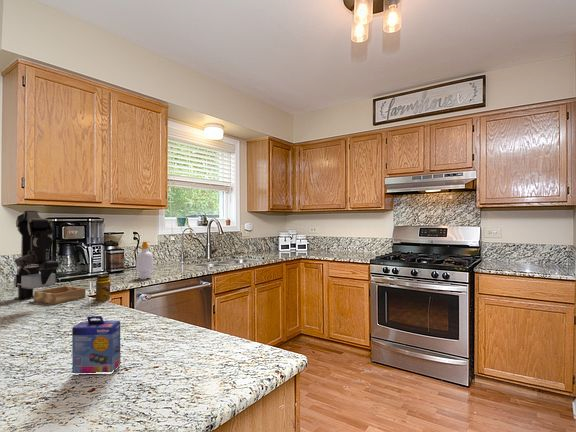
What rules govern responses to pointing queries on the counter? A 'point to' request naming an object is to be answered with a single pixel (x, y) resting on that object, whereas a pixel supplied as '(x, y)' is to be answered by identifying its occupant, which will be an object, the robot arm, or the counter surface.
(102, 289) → the condiment
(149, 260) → the soap bottle
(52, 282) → the small crate
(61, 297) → the big crate
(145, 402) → the counter surface
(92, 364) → the ink cartridge box
